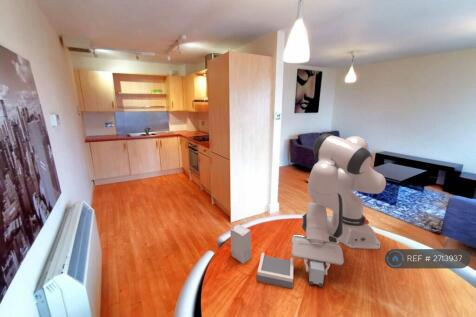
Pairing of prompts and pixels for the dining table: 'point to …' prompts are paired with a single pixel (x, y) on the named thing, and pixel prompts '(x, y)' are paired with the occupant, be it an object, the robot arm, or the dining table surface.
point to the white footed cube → (316, 272)
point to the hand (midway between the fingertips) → (316, 273)
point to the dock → (275, 271)
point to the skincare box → (241, 243)
